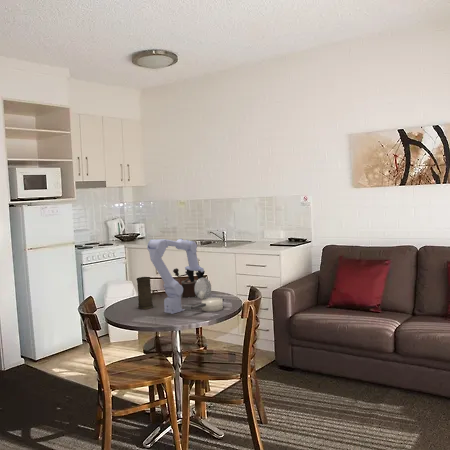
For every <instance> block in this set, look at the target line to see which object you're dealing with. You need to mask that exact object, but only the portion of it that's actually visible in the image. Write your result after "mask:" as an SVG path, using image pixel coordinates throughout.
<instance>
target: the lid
mask: <svg viewBox="0 0 450 450" xmlns="http://www.w3.org/2000/svg"><path fill="white" fill-rule="evenodd" d="M196 280H197V281H196V283H195V288H194V290H195V294H196V296H197V297H196V298H198V299H199V300H203V299H207V298H210V297H209V296H210V295H211V293H212V284H211V282H210V280H209V279H208V278H206V277H203V278H200V279H198V278H197V279H196Z"/></svg>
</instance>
